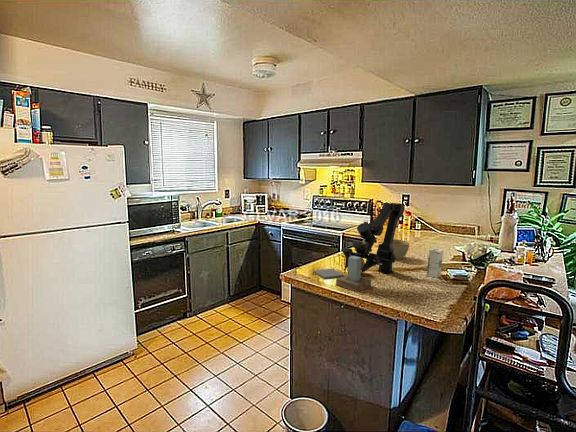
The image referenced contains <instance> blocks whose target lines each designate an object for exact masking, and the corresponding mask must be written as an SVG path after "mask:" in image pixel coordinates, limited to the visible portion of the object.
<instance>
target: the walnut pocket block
mask: <svg viewBox="0 0 576 432" xmlns="http://www.w3.org/2000/svg"><path fill="white" fill-rule="evenodd" d="M347 277H348V274H346V275H344V276H343V277H337V278H335V279H336V281H335V286H338V287H341V288H345V289H348V290H350V291H354V292H357V293H358V292H360V291H362V290H364V289H367V288H369V287H371V286H372V279H370V278H366V277H363V276H360V281H358V282H353V281H349V280H347Z"/></svg>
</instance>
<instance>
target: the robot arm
mask: <svg viewBox="0 0 576 432" xmlns="http://www.w3.org/2000/svg"><path fill="white" fill-rule="evenodd" d="M404 212H405V206H404V204H403V203H399V202H398V203H397V202H385V203H384V204H383V207H382V208H381V210H380V212H379V214H378V215H377V217H376V218H375V219H373V220H371V221H370V222H368V221H363V222H362V223H360V224H358V226H357V227H356V230H357V232H358V234H359V236H360V237H361V239H362V241H358V240H353V241H352V244H351V247H352V248H353V249H354V250H353V249H352V248H349V247H344V248H343V249H342V250H341V252H342V253H343V255H344V257H345V263H344V264H345V265H344V269H348V257H351V256H357V257H361V258H363V259H364V260H365V265H364V266H363V268H362V270H361V274H363V273H365V272H366V271H367V270H369V269H370V268H373V267H376V265H377V266H378V268H377V271H378V272H380V273H382V274H392V273H393V274H394V272H395V271H393V264H394V263H396V261H397V260H396V257H395V255H394V253H393V252H394V249H393V246H392V243H393V239H394V237H395V233H396V231H397V230H396V229H397V226H398V221H399V220H400V219H401V217H403V214H404ZM387 220H388V221H387ZM386 222H387V225H386V229H385V233H384V237H383V240H384V241H382V243H379V244H378V242H377V237H376V236H378V237H380V236H381V235H382V234H383V232H384V228H385V227H384V225H385V223H386ZM374 244H378V245H377V246H378V247H377V250H376V253H374V252H373V249H372V248H373V247H374ZM372 252H373V253H372Z"/></svg>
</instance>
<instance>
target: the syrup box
mask: <svg viewBox="0 0 576 432" xmlns="http://www.w3.org/2000/svg"><path fill="white" fill-rule="evenodd" d="M443 256H444V250H443V249H439V248H431V249H429V251H428V259H427V267H426V268H427V269H426V276H427V277H429V278H435V279H438V278H440V277H441V273H442V268H443V267H442V266H443Z"/></svg>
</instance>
